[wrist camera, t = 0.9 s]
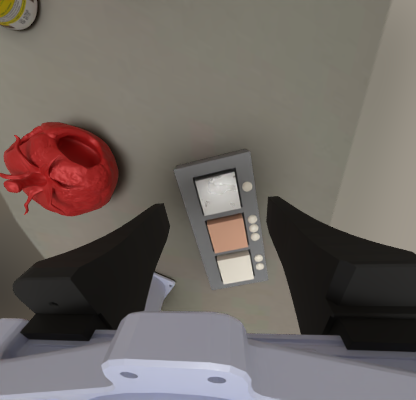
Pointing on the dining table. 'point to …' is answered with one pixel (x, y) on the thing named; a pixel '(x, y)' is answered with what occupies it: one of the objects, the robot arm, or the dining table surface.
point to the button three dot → (227, 233)
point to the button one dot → (218, 192)
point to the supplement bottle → (17, 13)
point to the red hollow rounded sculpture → (61, 169)
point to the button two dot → (235, 267)
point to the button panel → (248, 210)
